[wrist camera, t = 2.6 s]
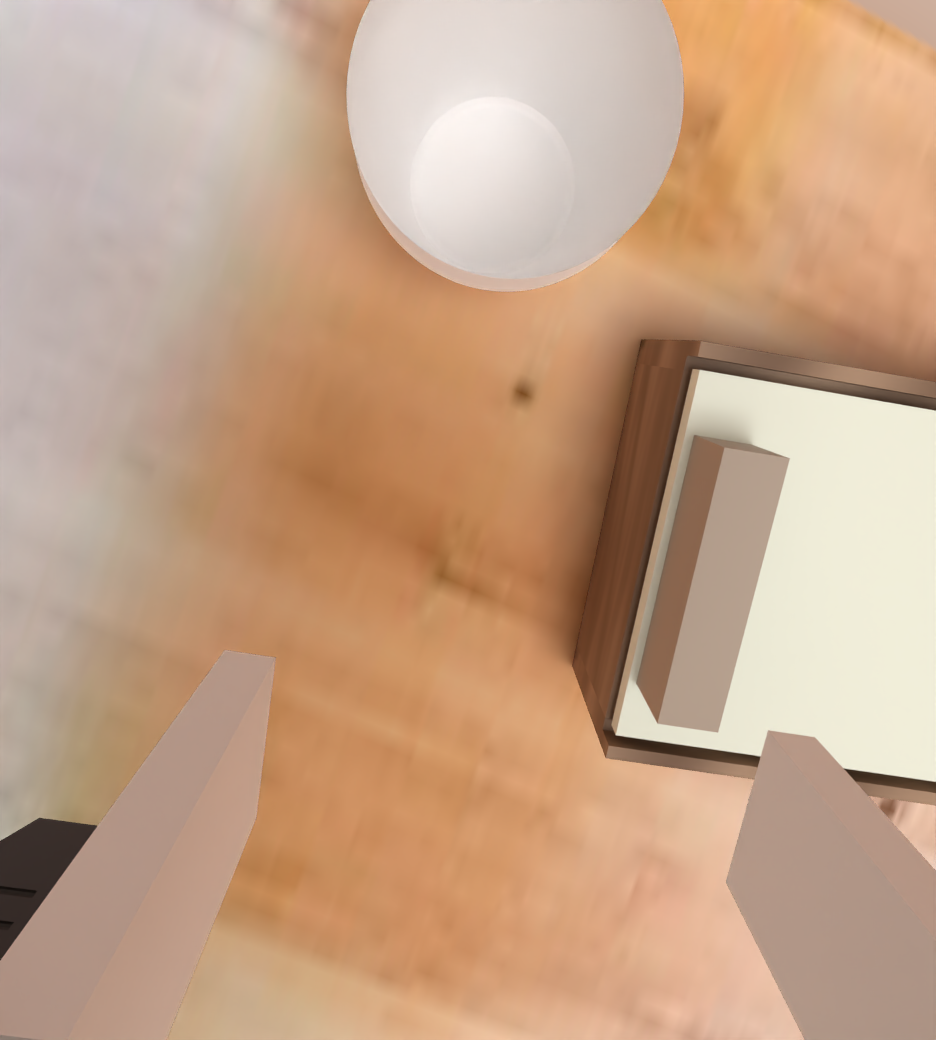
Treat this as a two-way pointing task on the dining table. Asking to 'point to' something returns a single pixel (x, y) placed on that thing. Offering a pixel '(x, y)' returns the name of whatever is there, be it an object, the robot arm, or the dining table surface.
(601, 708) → the box
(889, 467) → the lid
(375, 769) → the dining table surface
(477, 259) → the cup
